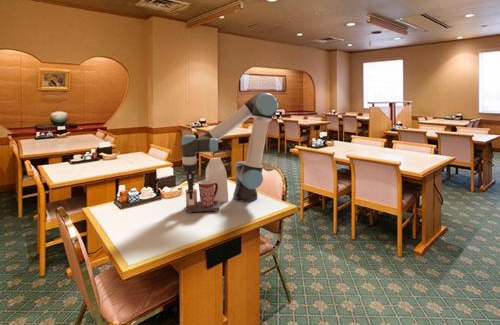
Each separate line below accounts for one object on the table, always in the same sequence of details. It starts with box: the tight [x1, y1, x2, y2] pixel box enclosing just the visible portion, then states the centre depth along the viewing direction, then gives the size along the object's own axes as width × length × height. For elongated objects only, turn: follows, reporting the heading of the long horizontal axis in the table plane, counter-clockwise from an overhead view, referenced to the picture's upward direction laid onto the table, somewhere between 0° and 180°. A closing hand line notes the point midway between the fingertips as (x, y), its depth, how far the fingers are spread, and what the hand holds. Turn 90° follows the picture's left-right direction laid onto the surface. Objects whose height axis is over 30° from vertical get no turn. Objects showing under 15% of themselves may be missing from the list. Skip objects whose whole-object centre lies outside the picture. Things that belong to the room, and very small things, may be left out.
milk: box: [205, 157, 229, 203], centre depth 197 cm, size 12×12×26 cm
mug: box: [197, 179, 218, 207], centre depth 182 cm, size 13×9×14 cm
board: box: [185, 201, 220, 214], centre depth 183 cm, size 18×12×2 cm, turn 99°
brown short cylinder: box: [185, 188, 198, 208], centre depth 181 cm, size 6×6×9 cm
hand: (191, 200), depth 181 cm, fingers open, 13 cm apart
